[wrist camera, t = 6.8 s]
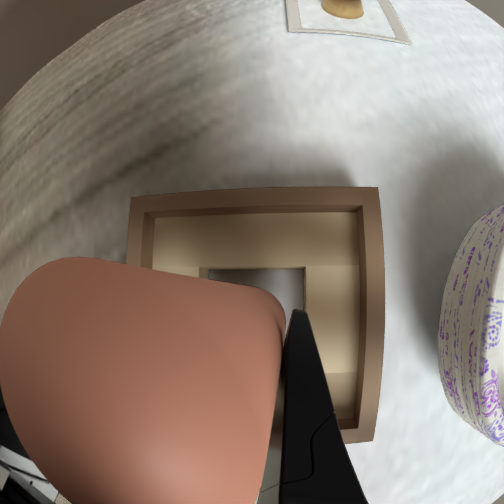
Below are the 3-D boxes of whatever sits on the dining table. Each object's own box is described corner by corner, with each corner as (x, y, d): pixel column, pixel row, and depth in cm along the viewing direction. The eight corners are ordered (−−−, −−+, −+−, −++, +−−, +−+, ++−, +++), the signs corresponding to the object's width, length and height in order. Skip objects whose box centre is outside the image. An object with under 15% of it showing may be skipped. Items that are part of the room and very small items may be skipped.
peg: (255, 370, 15) (151, 564, 2) (201, 326, 15) (-17, 391, 3) (300, 316, 15) (352, 434, 2) (244, 272, 15) (66, 189, 3)
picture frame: (360, 417, 16) (372, 441, 12) (156, 408, 17) (133, 426, 14) (363, 205, 18) (377, 187, 14) (155, 212, 19) (131, 197, 16)
